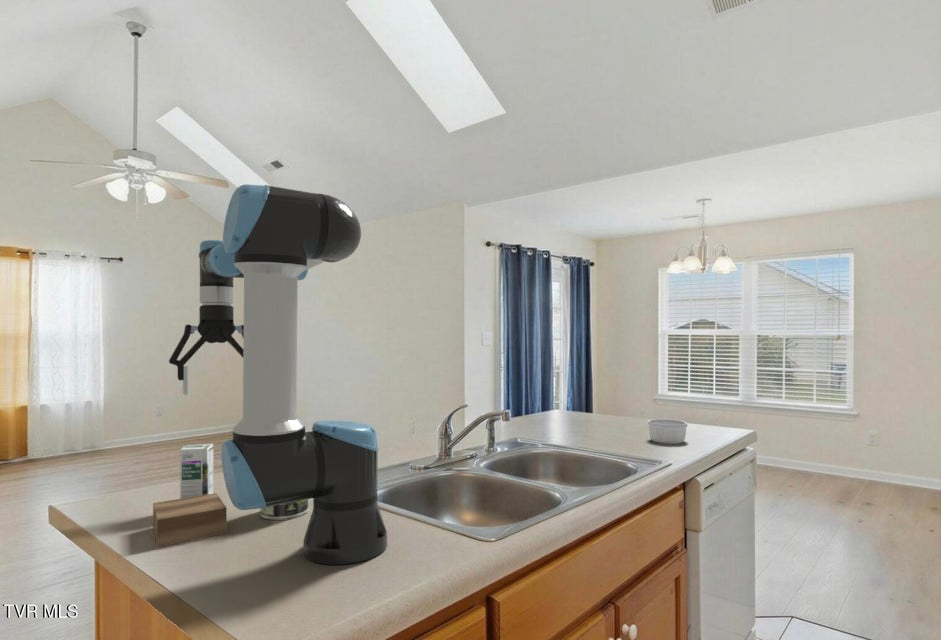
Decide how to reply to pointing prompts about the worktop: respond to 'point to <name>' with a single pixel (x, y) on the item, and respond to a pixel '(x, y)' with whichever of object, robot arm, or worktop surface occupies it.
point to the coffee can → (285, 510)
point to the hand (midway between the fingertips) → (216, 392)
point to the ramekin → (667, 430)
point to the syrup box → (196, 470)
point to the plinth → (188, 519)
